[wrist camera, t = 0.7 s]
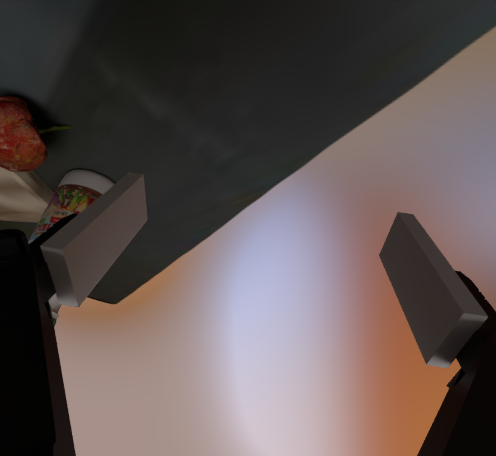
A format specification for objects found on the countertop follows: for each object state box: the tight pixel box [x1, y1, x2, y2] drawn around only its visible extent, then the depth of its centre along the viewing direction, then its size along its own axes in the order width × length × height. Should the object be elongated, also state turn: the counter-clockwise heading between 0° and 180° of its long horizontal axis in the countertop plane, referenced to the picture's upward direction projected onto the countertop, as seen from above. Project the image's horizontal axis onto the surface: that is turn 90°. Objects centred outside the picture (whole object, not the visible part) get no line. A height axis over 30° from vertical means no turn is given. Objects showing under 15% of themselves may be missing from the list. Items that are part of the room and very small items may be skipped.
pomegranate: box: [0, 96, 71, 172], centre depth 31 cm, size 7×7×10 cm
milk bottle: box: [28, 169, 115, 326], centre depth 37 cm, size 8×8×20 cm
